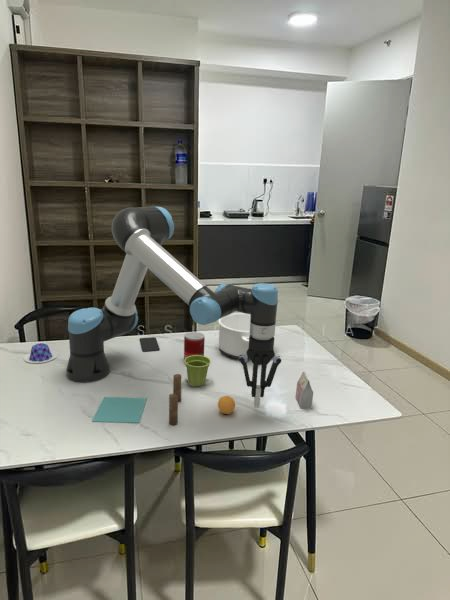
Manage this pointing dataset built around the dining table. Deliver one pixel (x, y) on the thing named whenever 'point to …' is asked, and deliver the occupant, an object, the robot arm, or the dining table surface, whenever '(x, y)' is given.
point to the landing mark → (120, 410)
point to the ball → (226, 404)
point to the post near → (173, 409)
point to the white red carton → (304, 392)
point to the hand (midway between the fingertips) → (256, 405)
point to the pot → (234, 334)
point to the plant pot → (197, 369)
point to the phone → (149, 344)
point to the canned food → (193, 344)
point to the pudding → (40, 353)
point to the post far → (177, 386)
